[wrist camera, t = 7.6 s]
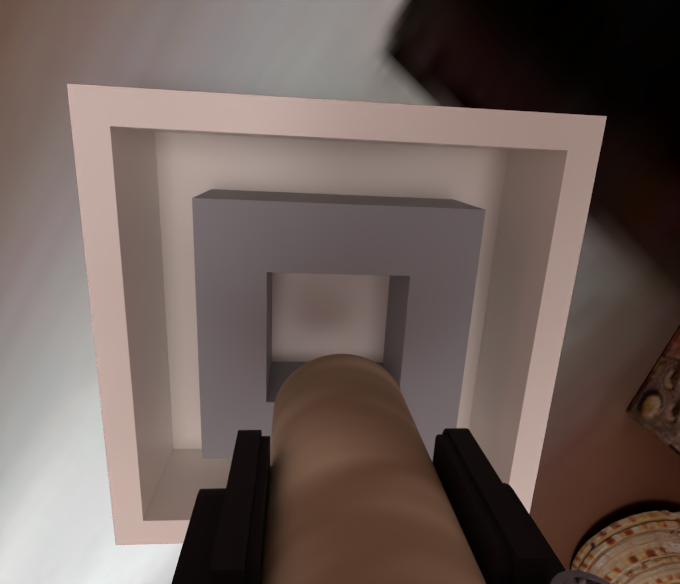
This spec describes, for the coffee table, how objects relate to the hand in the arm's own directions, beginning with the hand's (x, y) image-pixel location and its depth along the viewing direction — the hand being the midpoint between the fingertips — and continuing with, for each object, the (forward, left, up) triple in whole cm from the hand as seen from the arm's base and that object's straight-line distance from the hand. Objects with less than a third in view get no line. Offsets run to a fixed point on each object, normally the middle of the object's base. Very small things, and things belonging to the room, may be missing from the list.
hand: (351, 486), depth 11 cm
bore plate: (0, 0, -13) cm, 13 cm away
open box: (0, 0, -13) cm, 13 cm away
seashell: (-21, +16, -14) cm, 30 cm away
